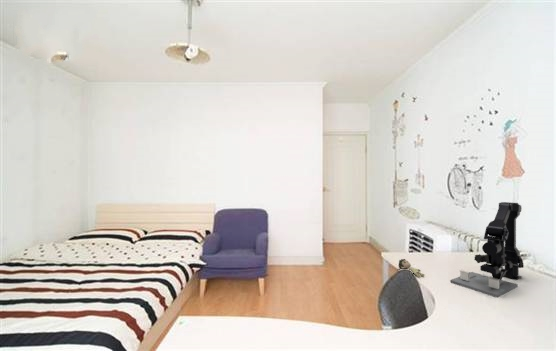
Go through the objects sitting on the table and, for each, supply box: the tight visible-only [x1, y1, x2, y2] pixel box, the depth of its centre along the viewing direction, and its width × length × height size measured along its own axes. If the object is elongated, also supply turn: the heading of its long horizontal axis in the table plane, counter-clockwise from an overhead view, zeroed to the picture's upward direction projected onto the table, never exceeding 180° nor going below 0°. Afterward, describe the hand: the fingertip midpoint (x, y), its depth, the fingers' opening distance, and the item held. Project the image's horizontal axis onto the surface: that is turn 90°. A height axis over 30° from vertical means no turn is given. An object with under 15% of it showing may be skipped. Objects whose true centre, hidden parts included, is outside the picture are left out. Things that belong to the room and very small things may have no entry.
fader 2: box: [488, 276, 500, 289], centre depth 130 cm, size 2×4×4 cm, turn 30°
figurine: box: [398, 258, 425, 279], centre depth 153 cm, size 8×6×15 cm
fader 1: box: [459, 269, 471, 281], centre depth 140 cm, size 2×4×4 cm, turn 30°
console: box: [449, 271, 519, 298], centre depth 137 cm, size 22×20×2 cm
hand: (496, 283), depth 131 cm, fingers closed
